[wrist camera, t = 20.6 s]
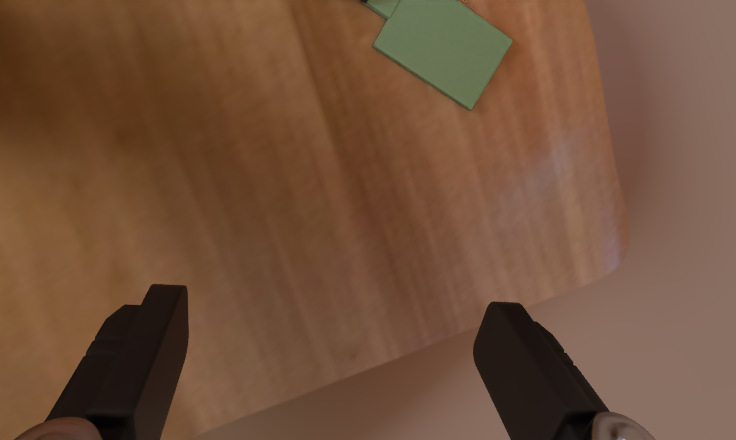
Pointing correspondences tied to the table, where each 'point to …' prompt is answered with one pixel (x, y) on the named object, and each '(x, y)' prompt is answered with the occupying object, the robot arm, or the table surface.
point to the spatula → (441, 45)
